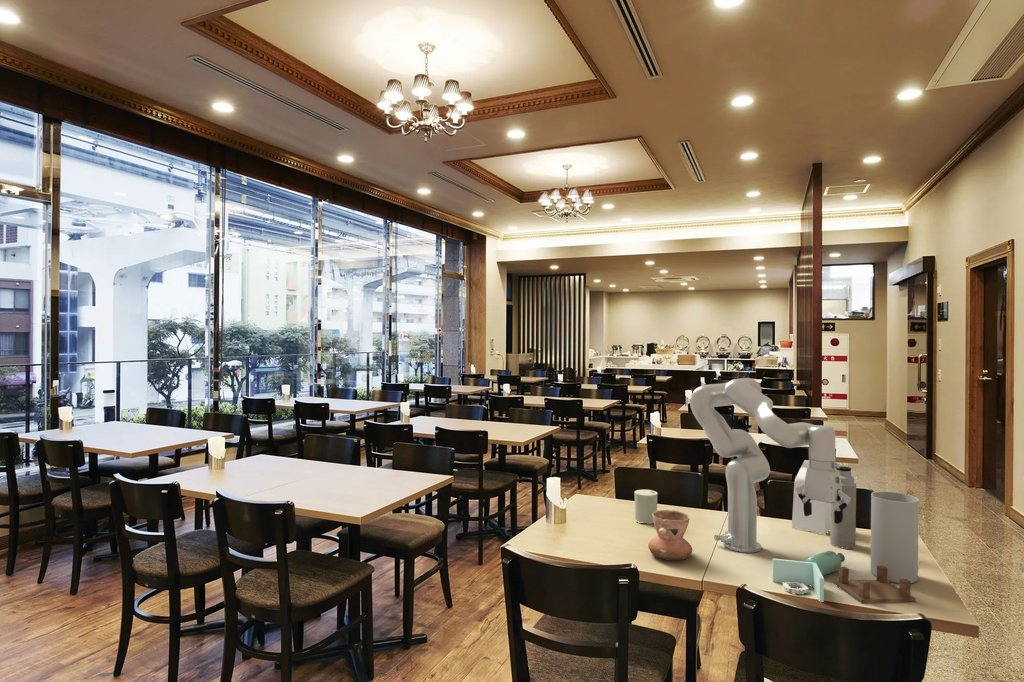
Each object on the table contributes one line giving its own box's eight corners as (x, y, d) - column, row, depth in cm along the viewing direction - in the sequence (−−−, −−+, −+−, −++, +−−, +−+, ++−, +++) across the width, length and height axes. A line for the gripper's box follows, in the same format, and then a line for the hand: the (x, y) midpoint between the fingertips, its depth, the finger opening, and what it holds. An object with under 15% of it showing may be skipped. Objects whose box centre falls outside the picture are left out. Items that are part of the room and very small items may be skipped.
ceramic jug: (682, 568, 194) (683, 524, 194) (639, 558, 202) (640, 516, 202) (700, 553, 209) (701, 512, 209) (659, 544, 217) (660, 504, 217)
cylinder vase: (874, 581, 185) (875, 499, 184) (867, 566, 196) (867, 489, 196) (922, 587, 180) (923, 504, 180) (911, 571, 192) (912, 493, 192)
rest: (861, 603, 170) (861, 583, 170) (833, 583, 183) (834, 565, 183) (915, 601, 171) (916, 582, 170) (884, 582, 184) (885, 564, 183)
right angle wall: (772, 582, 185) (772, 558, 185) (815, 587, 181) (815, 562, 181) (777, 599, 174) (777, 573, 173) (823, 604, 170) (823, 578, 170)
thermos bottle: (851, 541, 219) (851, 465, 219) (859, 549, 212) (859, 470, 211) (827, 540, 221) (828, 464, 221) (834, 547, 213) (835, 469, 213)
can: (659, 524, 239) (660, 494, 239) (636, 524, 239) (636, 494, 239) (654, 517, 248) (654, 488, 248) (632, 517, 249) (632, 488, 248)
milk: (791, 528, 235) (792, 461, 235) (800, 521, 244) (800, 457, 243) (825, 534, 227) (826, 466, 227) (833, 527, 236) (833, 461, 235)
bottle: (820, 581, 186) (823, 563, 185) (802, 572, 191) (805, 554, 190) (848, 570, 194) (851, 552, 194) (830, 561, 199) (833, 544, 199)
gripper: (856, 468, 186) (857, 523, 186) (802, 459, 200) (803, 510, 200) (843, 471, 182) (844, 528, 182) (789, 462, 196) (790, 514, 196)
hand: (822, 519), depth 191 cm, fingers open, 9 cm apart
